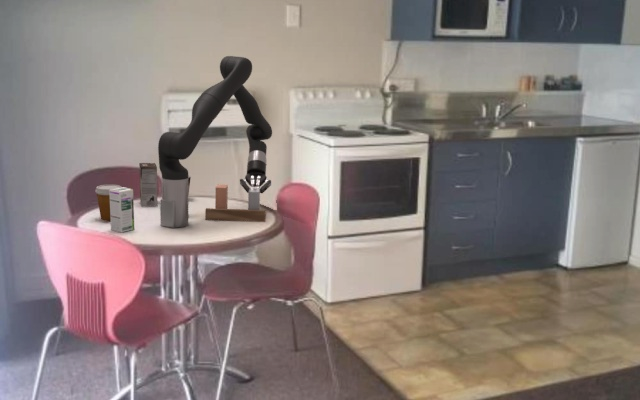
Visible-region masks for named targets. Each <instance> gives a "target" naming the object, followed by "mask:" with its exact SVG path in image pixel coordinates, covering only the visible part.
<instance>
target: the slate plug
mask: <svg viewBox="0 0 640 400" xmlns="http://www.w3.org/2000/svg"><path fill="white" fill-rule="evenodd" d="M247 194H248V195H247V197H248V201H247V210H261V205H260V203H261V202H260V201H261V193H260V189H256V188H254V189H249V192H248V193H247Z"/></svg>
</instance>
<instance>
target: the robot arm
mask: <svg viewBox="0 0 640 400" xmlns="http://www.w3.org/2000/svg"><path fill="white" fill-rule="evenodd" d="M219 72H220V74H221V77H222V79H223V80H221V81H219V82H218V83H215V84H214V85H211V86H210V87H209V88H206V89H205V90H204V91H203V92H202V93H201V94H200V95H199V97H198V98H197V99H196V100H195V102H194V103H193V106H192V109H191V121H190V123H189V125H188V126H187V127H186V128H185V129H183V131H182V132H181V133H180V132H174V131H165V132H163V133H162V134H161V136H160V137H159V139H158V140H159V141H158V143H157V144H158V147H157V150H158V151H157V152H158V165H159V170H160V172H161V199H160V200H159V205H160V206H159V207H160V208H159V209H160V210H159V212H160V216H159V217H160V219H159V220H160V226H162V227H166V228H171V229H176V228H184V227H187V226H188V225H189V196H188V175H189V170H188V168H186V167H185V166H183V165H182V163H181V162H180V160H182V161H183V160H186V159H188V158H189V157H190V156H191V155H192V153H193V152H194V150H195V149H196V147H197V146H198V143H200V140H201V139H202V137H203V136H204V134H205V132H206V131H207V129H209V127H210V126H211V124H212V123H213V122H214V120H215V119H216V118H217V117H218V115H219V114H220V113H221V112H222V110H223V109H224V107H225V106H226V105H227V103H228V102H229V101H230V100H231V99H232V97H233V96H234V98H235V99H236V101H237V104H238V106H239V108H240V111H241V113H242V115H243V119H244V120H245V122H246V123H247V124H249V125H248V126H247V127H246V130H245V131H246V132H245V133H246V137H247V141H248V145H249V146H248V147H249V148H248V158H247V165H246V175H244V178H240V179H239V184H240V186H241V187H242V189H244V190H245V192H246V193H247V194H248V192H249V189H260V194H264V193H265V192H266V190H268V189H269V188H270V187H271V186H272V180H271V179H268V178H267V176H266V175H267V150H268V148H267V144H266V142H265V141H266V140H269V139H271V137H272V136H273V128H272V126H271V124H270V123H269V122H268V121H267V119H266V118H265V117H264V116H263V114H262V112H261V109H260V106H259V104H258V102H257V100H256V98H255V97H254V96H253V95H252V94H251V93H250V91H249V90H248V89H247V88H246V87H245V86H244V84H245V83H246V82H247V81H248V80H249V78H250V76H251V75H252V72H253V63H252V61H251V60H250V59H249V58H247V57H243V56H234V55H228V56H224V57H223V58H222V59H221V60H220V63H219Z"/></svg>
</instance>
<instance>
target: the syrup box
mask: <svg viewBox="0 0 640 400" xmlns="http://www.w3.org/2000/svg"><path fill="white" fill-rule="evenodd" d="M109 195H110V216H111V221H110V230H111V231H114V232H117V233H121V234H122V233H125V232H128V231H134V230H135V209H134V205H135V204H134V189H133V188H129V187H126V186H125V187H124V186H123V187H122V186H121V188H117V189H110V190H109Z"/></svg>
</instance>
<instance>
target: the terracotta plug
mask: <svg viewBox="0 0 640 400" xmlns="http://www.w3.org/2000/svg"><path fill="white" fill-rule="evenodd" d="M228 188H229V187H228V184H219V183H218V184H217V185H216V186H215V203H214V204H215V208H214V209H228V203H229V202H228V201H229V200H228V193H229V192H228V190H229V189H228Z"/></svg>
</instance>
